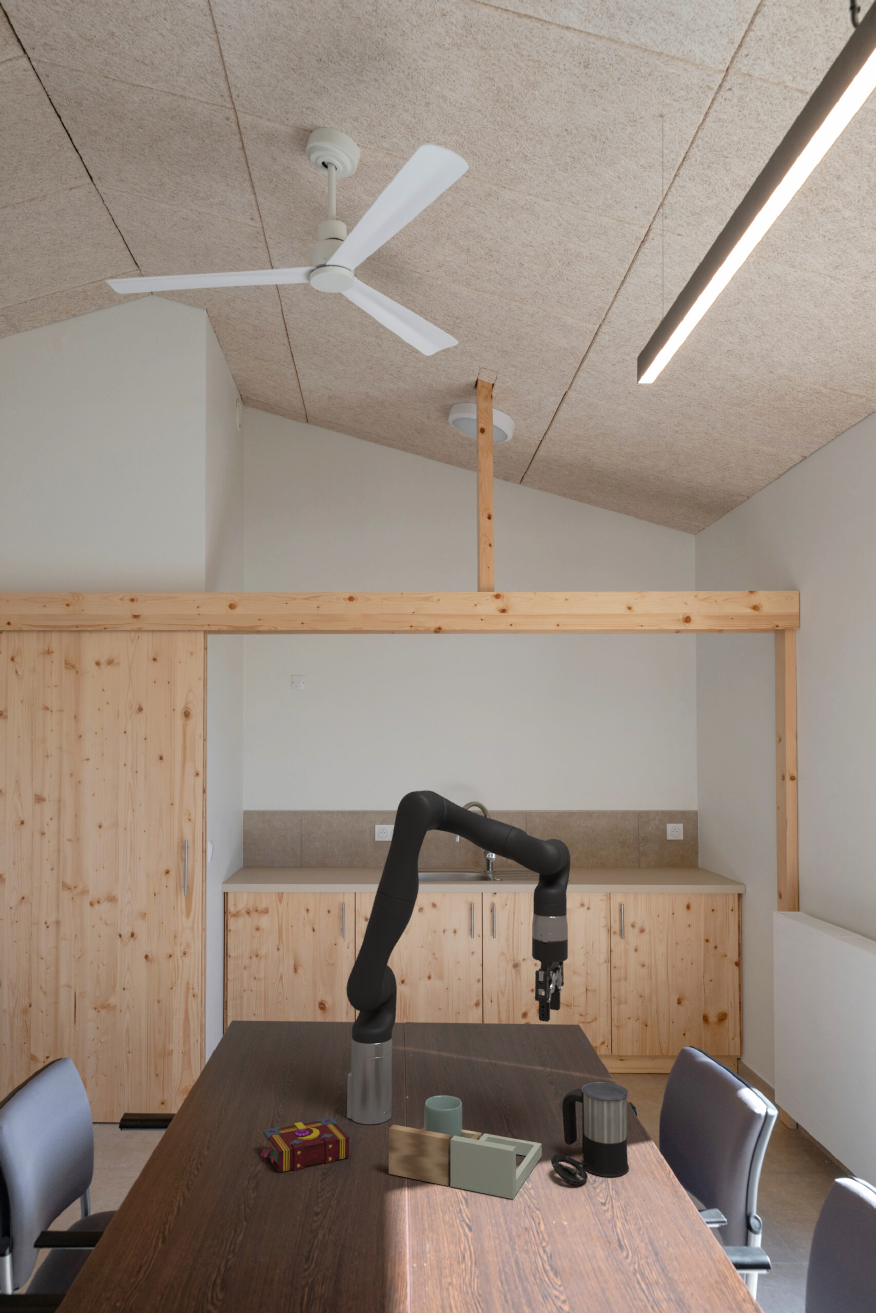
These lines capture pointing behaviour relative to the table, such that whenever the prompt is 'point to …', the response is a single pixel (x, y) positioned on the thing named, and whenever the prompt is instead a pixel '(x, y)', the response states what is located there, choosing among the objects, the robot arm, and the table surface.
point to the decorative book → (305, 1144)
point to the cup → (444, 1115)
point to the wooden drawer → (422, 1153)
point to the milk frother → (595, 1132)
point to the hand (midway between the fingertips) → (549, 1015)
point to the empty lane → (492, 1164)
